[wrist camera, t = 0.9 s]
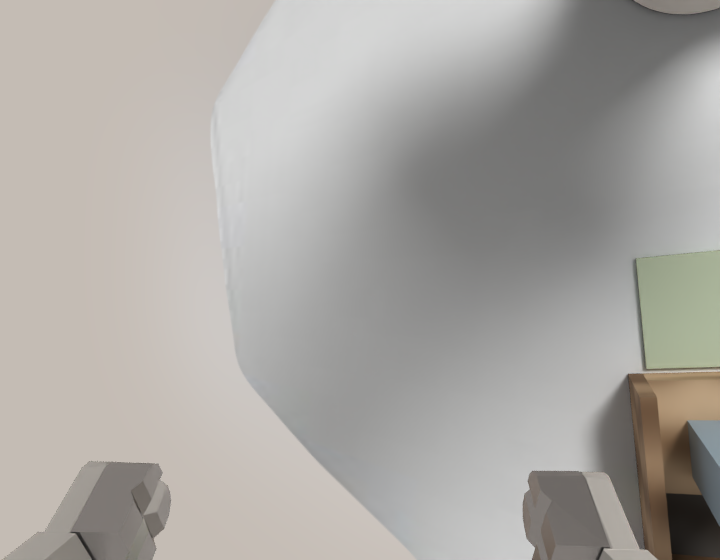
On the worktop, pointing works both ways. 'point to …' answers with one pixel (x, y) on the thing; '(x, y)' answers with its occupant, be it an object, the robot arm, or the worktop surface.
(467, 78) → the worktop surface
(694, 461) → the block
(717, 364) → the mat
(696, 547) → the brown wooden open box
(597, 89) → the worktop surface
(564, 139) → the worktop surface
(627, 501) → the worktop surface
